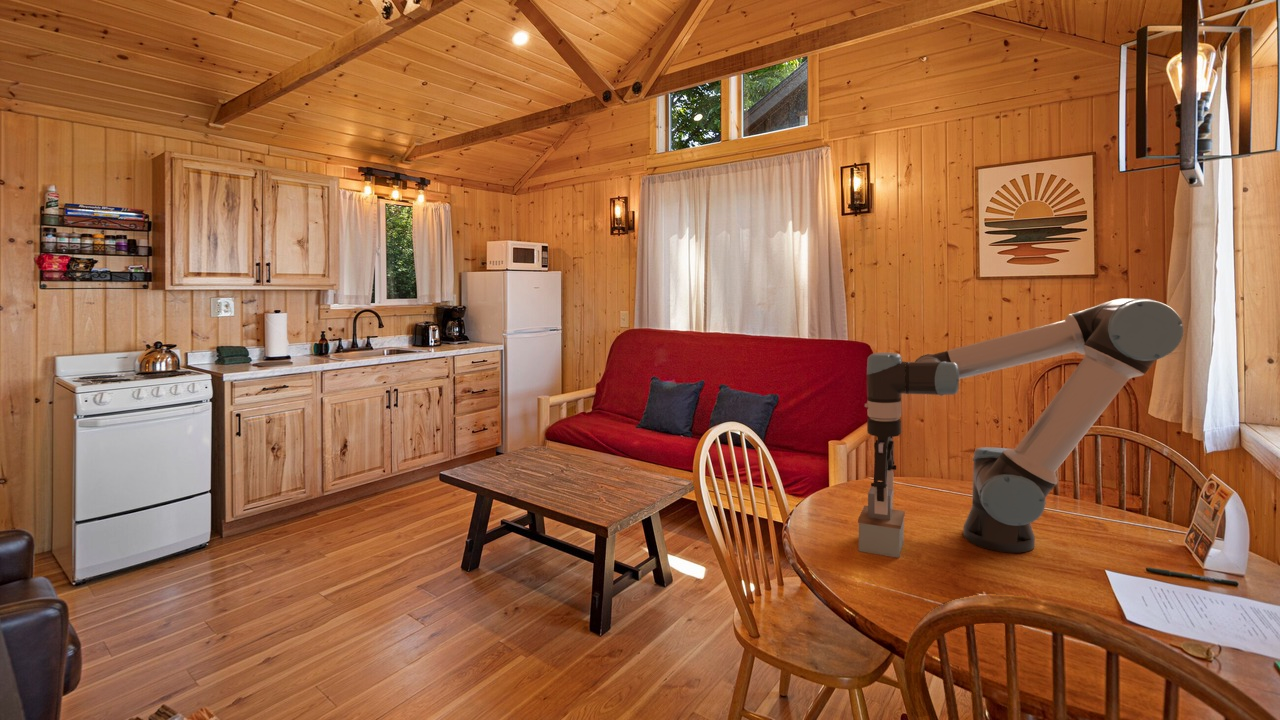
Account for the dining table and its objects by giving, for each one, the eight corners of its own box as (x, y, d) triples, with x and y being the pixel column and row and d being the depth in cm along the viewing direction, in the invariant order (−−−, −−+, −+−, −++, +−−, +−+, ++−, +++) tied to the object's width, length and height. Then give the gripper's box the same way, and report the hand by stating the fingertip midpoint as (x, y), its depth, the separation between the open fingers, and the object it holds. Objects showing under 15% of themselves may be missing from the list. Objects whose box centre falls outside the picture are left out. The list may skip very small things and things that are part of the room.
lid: (904, 514, 149) (904, 510, 149) (900, 529, 140) (900, 525, 140) (864, 508, 153) (864, 505, 153) (857, 522, 144) (857, 519, 144)
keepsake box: (903, 541, 149) (903, 514, 149) (899, 557, 141) (899, 529, 140) (864, 535, 154) (865, 509, 153) (858, 551, 145) (858, 522, 144)
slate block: (892, 513, 147) (892, 489, 147) (890, 520, 143) (890, 496, 142) (870, 510, 150) (871, 486, 149) (867, 517, 145) (868, 493, 145)
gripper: (874, 407, 157) (874, 487, 159) (859, 428, 135) (860, 519, 137) (905, 409, 153) (905, 490, 155) (895, 430, 131) (896, 524, 134)
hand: (884, 504), depth 146 cm, fingers open, 13 cm apart
